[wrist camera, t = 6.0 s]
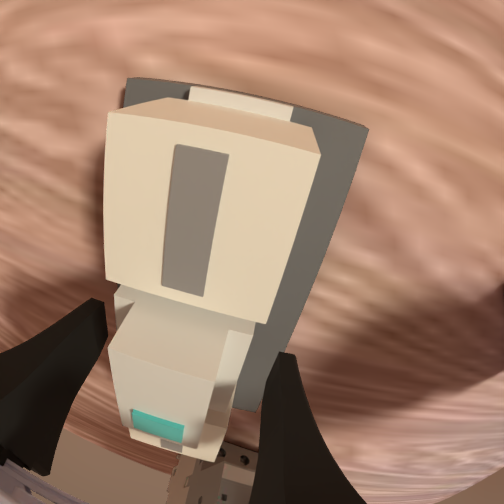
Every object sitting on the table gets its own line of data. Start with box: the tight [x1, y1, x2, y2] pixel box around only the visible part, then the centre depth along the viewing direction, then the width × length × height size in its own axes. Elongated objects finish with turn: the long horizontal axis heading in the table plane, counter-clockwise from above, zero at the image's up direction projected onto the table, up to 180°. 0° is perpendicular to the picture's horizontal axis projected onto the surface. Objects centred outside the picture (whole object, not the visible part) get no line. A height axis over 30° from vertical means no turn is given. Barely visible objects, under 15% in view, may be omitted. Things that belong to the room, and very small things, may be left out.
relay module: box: [108, 284, 255, 449], centre depth 12 cm, size 5×4×6 cm
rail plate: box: [103, 77, 369, 462], centre depth 13 cm, size 18×9×6 cm, turn 168°
